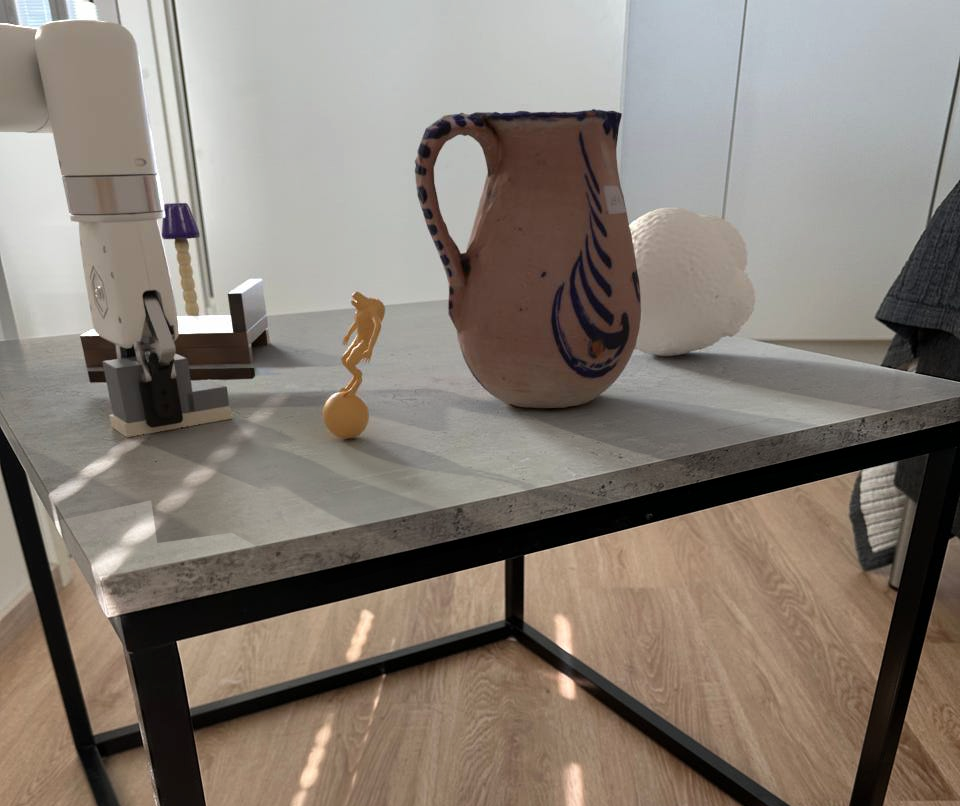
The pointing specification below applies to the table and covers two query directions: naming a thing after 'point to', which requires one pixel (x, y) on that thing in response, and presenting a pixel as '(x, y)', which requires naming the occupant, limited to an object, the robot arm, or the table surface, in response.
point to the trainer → (196, 398)
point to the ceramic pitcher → (540, 255)
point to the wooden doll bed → (205, 338)
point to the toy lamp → (182, 248)
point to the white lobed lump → (689, 281)
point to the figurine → (355, 370)
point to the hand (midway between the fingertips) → (155, 416)
